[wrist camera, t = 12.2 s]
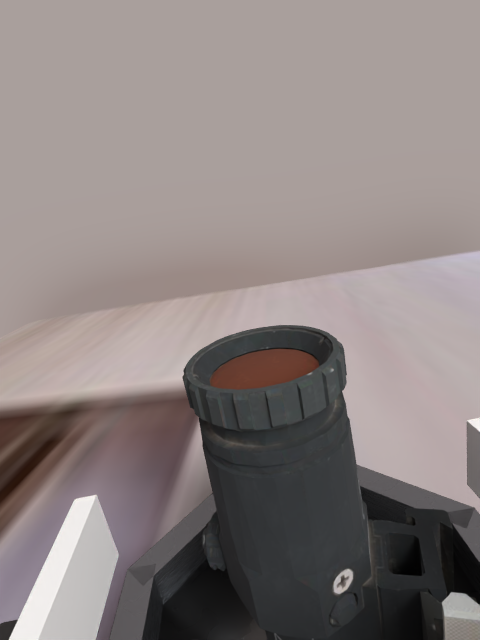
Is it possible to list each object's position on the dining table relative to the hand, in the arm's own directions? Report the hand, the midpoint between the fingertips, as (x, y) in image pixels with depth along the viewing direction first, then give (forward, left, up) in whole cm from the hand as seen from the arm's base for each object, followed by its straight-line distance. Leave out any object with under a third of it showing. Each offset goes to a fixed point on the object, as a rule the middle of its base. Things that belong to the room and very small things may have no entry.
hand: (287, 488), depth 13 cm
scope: (+1, +1, -9) cm, 9 cm away
